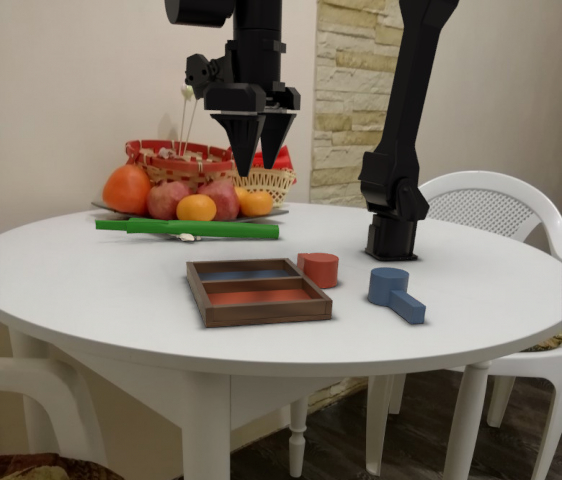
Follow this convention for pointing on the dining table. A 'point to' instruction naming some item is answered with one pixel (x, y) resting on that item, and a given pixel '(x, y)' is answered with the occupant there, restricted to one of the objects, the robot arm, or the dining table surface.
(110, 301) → the dining table surface
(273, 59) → the robot arm
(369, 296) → the blue cylinder with handle
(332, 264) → the red cylinder-ended block
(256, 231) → the green stepped bar
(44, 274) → the dining table surface
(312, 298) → the sorting tray
